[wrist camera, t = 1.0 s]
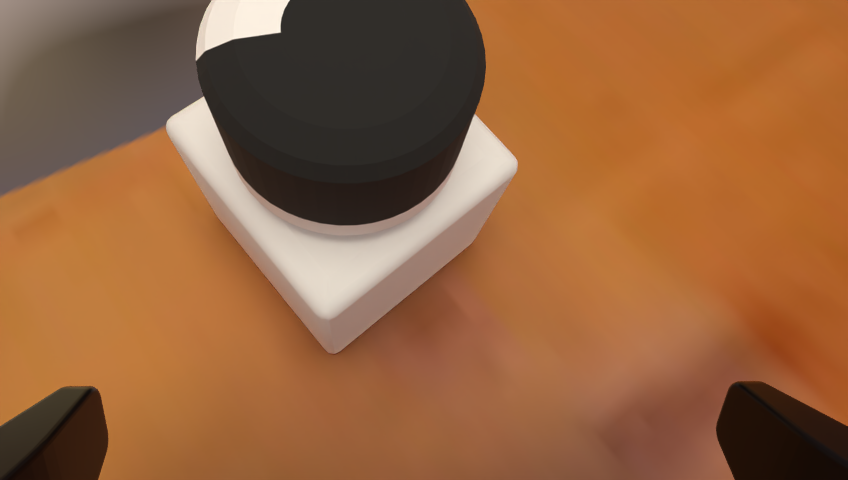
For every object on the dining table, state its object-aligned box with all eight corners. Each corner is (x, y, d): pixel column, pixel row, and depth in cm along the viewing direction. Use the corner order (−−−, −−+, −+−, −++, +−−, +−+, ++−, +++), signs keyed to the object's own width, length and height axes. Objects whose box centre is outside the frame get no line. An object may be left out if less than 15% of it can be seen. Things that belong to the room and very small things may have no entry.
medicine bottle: (477, 240, 24) (590, 60, 13) (332, 359, 22) (311, 273, 11) (361, 110, 25) (369, -160, 14) (213, 212, 23) (80, -6, 12)
